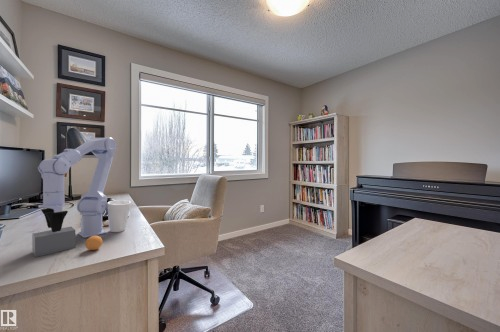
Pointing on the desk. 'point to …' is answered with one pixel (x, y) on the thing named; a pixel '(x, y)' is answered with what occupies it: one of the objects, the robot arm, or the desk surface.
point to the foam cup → (118, 214)
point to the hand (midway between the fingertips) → (54, 229)
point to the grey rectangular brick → (53, 241)
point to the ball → (93, 242)
